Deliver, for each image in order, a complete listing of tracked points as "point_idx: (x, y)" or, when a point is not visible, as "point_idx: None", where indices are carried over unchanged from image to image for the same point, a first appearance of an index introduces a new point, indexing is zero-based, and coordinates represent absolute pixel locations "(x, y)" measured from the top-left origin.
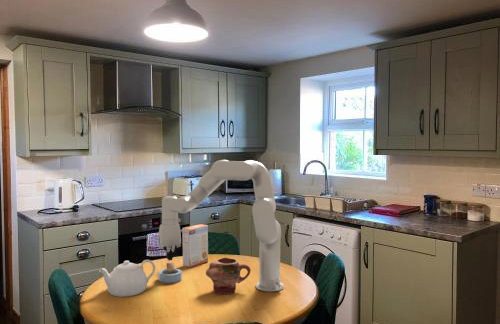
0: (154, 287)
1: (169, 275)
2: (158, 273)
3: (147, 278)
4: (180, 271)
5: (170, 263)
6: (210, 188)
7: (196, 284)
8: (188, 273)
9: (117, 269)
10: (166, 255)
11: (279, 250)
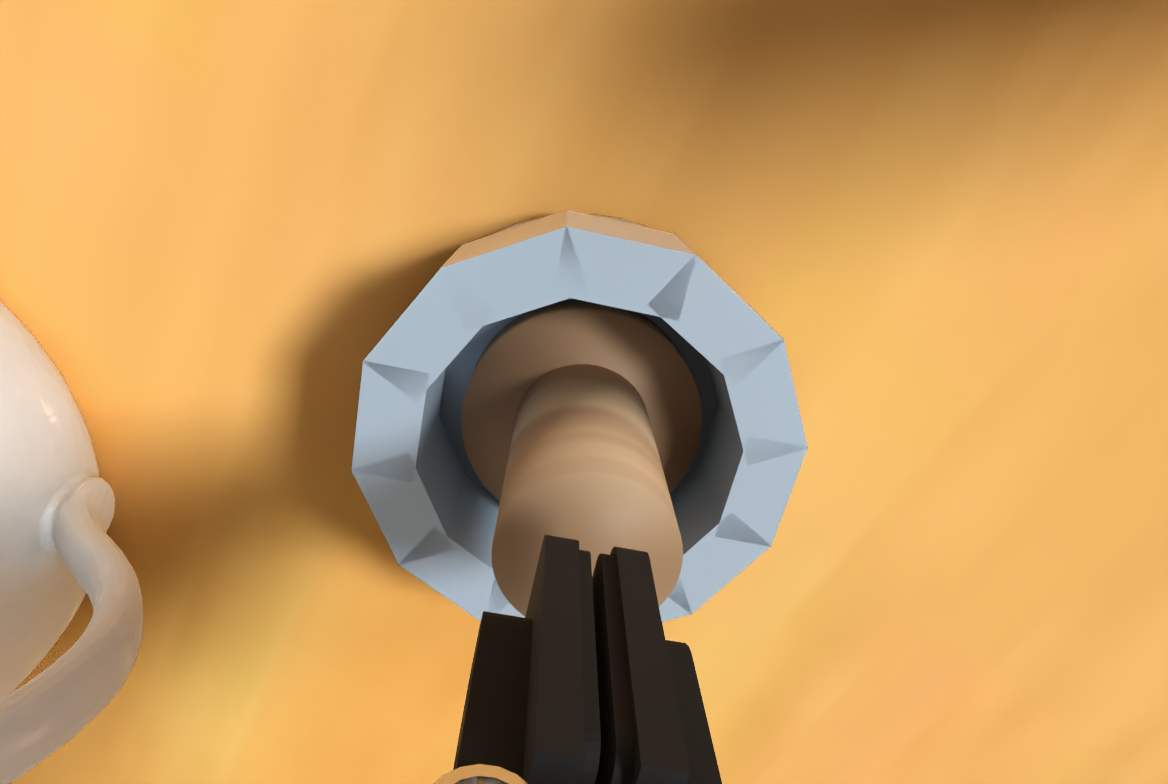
0: (244, 540)
1: (472, 612)
2: (369, 356)
3: (62, 559)
4: (738, 551)
5: (591, 557)
6: None
7: (754, 728)
8: (1010, 282)
9: None
10: (471, 680)
11: None
